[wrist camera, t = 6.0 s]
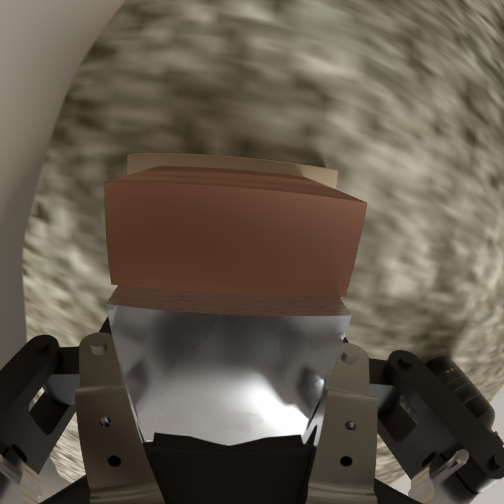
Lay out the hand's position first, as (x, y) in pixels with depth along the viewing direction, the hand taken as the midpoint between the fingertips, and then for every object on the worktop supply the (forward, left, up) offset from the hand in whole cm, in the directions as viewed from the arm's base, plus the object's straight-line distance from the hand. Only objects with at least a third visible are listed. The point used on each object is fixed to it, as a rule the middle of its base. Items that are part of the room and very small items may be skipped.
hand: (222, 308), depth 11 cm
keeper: (0, 0, -1) cm, 1 cm away
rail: (+5, 0, -3) cm, 6 cm away
